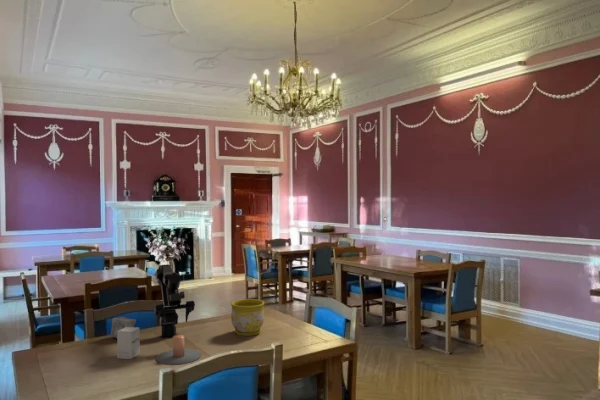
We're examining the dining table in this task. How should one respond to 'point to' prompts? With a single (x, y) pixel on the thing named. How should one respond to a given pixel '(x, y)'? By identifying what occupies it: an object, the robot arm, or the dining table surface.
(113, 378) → the dining table surface
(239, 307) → the flowerpot
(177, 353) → the salt shaker
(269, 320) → the dining table surface
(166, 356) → the mat
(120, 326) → the incense holder
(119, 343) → the supplement box
